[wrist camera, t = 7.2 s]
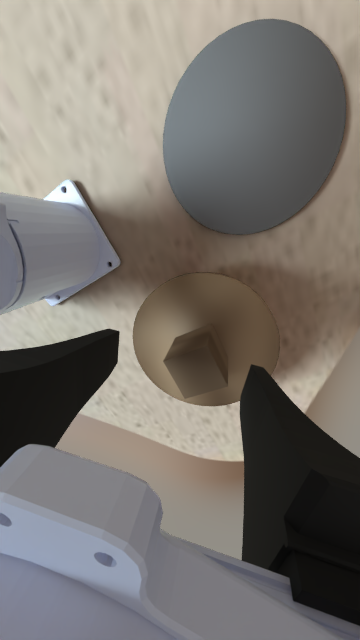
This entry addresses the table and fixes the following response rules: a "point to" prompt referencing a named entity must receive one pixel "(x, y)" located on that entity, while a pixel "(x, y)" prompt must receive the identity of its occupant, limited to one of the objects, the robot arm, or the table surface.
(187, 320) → the lid
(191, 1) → the table surface
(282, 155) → the mat
